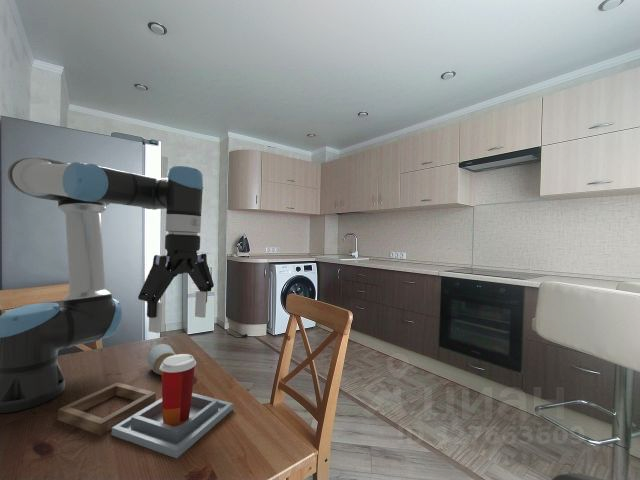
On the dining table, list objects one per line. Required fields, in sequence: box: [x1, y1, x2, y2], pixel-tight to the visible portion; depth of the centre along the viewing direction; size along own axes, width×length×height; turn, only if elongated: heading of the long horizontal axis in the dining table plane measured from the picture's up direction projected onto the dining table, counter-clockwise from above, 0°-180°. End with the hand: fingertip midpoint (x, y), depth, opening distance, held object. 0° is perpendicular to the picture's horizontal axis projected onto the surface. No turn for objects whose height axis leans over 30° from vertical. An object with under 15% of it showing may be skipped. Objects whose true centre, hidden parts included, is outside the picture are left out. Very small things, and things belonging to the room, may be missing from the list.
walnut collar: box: [57, 381, 157, 436], centre depth 72 cm, size 14×14×2 cm
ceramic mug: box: [146, 343, 177, 376], centre depth 95 cm, size 11×8×8 cm
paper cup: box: [159, 353, 197, 426], centre depth 69 cm, size 8×8×14 cm
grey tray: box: [111, 392, 234, 459], centre depth 69 cm, size 18×18×3 cm
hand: (179, 323), depth 70 cm, fingers open, 13 cm apart
